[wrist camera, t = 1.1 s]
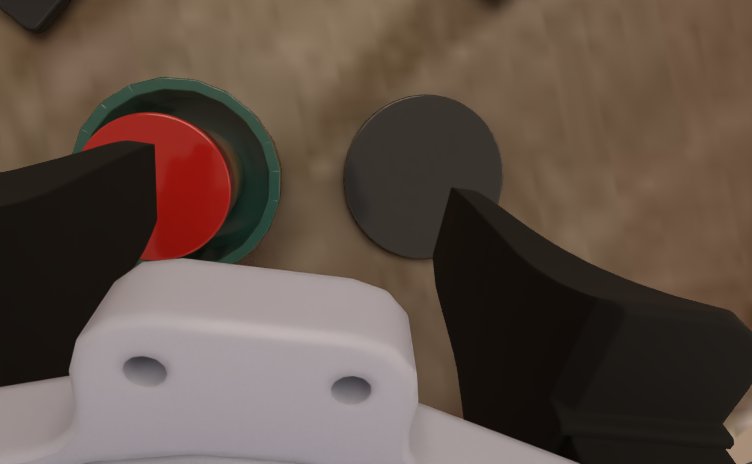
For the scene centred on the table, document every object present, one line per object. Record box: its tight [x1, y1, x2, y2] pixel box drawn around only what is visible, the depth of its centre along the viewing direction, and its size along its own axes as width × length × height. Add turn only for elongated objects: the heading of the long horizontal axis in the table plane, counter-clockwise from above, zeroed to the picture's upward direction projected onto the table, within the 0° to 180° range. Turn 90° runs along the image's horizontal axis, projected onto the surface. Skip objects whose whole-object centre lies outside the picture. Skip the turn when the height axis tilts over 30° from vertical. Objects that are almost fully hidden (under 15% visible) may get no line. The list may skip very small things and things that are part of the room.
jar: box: [82, 112, 245, 261], centre depth 20 cm, size 5×5×8 cm
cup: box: [72, 77, 282, 268], centre depth 22 cm, size 8×8×4 cm
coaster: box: [344, 95, 503, 259], centre depth 26 cm, size 8×8×1 cm
